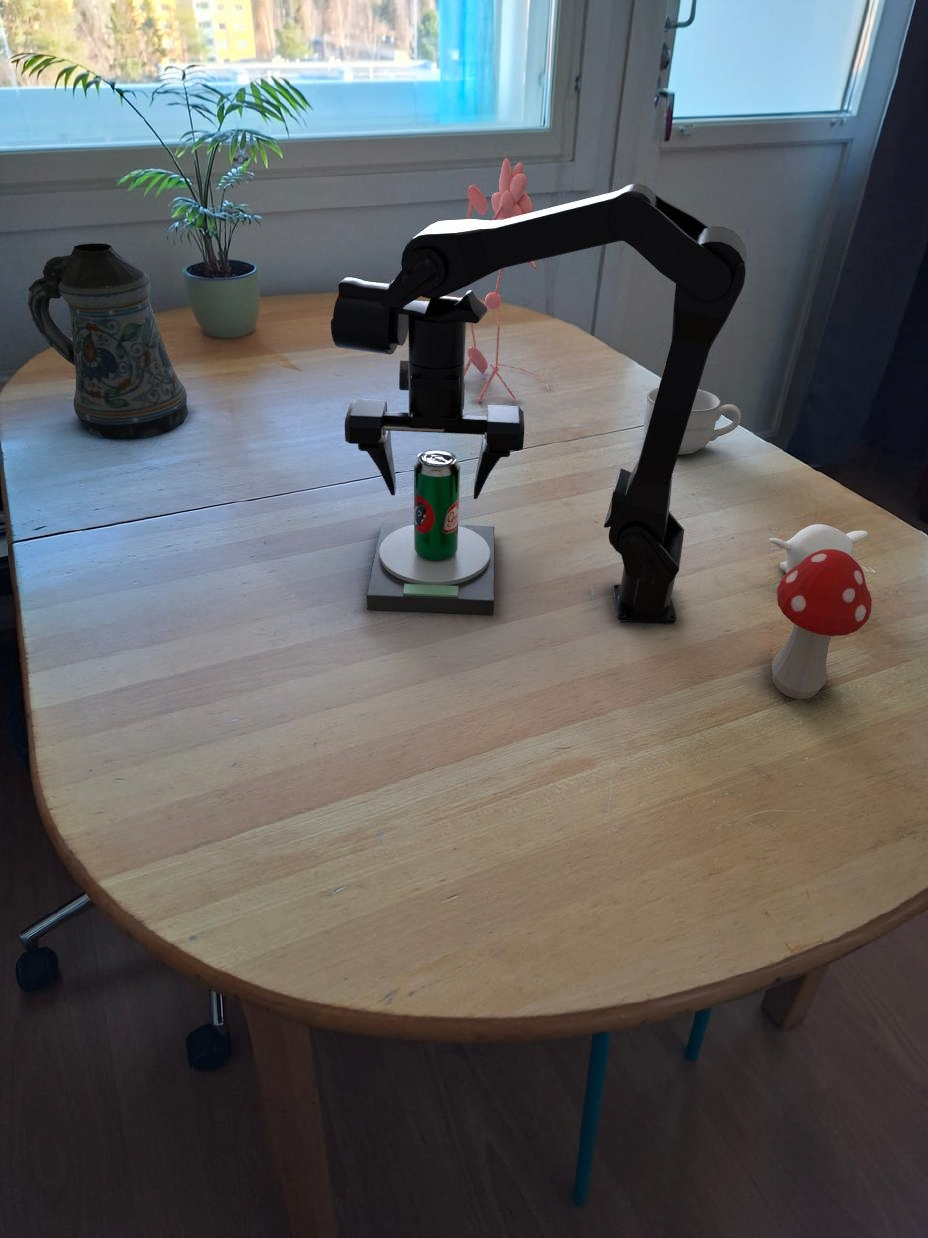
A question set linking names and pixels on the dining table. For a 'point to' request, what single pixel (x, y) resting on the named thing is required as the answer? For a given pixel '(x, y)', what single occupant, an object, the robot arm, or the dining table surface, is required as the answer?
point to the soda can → (436, 504)
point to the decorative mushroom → (818, 617)
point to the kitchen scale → (433, 573)
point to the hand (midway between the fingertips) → (434, 495)
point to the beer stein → (110, 344)
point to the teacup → (698, 420)
